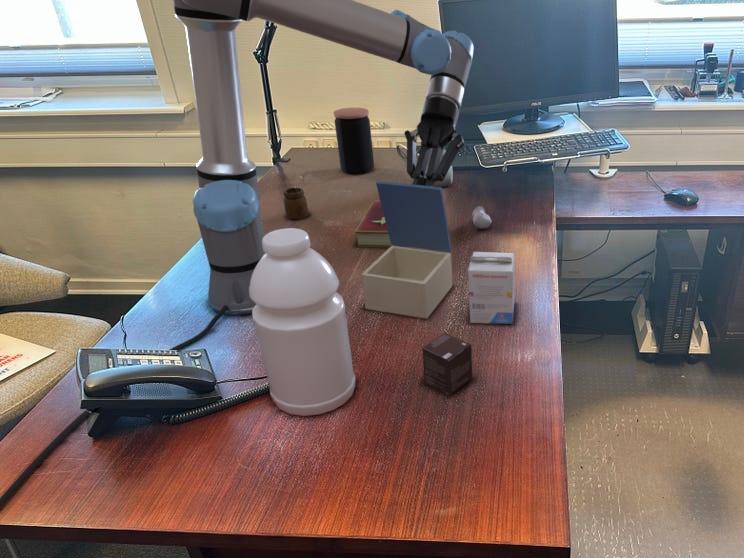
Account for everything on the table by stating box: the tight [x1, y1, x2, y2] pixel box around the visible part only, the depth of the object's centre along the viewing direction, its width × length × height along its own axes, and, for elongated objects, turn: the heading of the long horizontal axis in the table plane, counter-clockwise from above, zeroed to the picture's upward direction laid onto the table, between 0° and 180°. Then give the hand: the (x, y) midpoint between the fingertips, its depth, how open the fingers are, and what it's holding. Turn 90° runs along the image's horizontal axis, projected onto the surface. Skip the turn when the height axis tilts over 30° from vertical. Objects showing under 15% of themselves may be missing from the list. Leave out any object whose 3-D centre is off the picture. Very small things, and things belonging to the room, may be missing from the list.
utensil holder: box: [276, 172, 309, 220], centre depth 171 cm, size 6×6×12 cm
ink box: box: [467, 251, 516, 325], centre depth 126 cm, size 9×8×13 cm
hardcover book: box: [354, 200, 405, 248], centre depth 164 cm, size 12×21×4 cm, turn 175°
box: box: [421, 332, 473, 396], centre depth 108 cm, size 6×6×7 cm
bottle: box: [249, 227, 356, 417], centre depth 101 cm, size 14×14×28 cm
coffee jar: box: [333, 107, 375, 176], centre depth 201 cm, size 11×11×18 cm
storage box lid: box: [375, 180, 453, 253], centre depth 131 cm, size 15×14×1 cm
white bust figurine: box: [471, 205, 492, 230], centre depth 167 cm, size 4×8×5 cm
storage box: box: [360, 246, 453, 320], centre depth 133 cm, size 15×14×8 cm
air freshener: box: [424, 149, 454, 188], centre depth 191 cm, size 11×8×10 cm
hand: (416, 209), depth 131 cm, fingers closed
